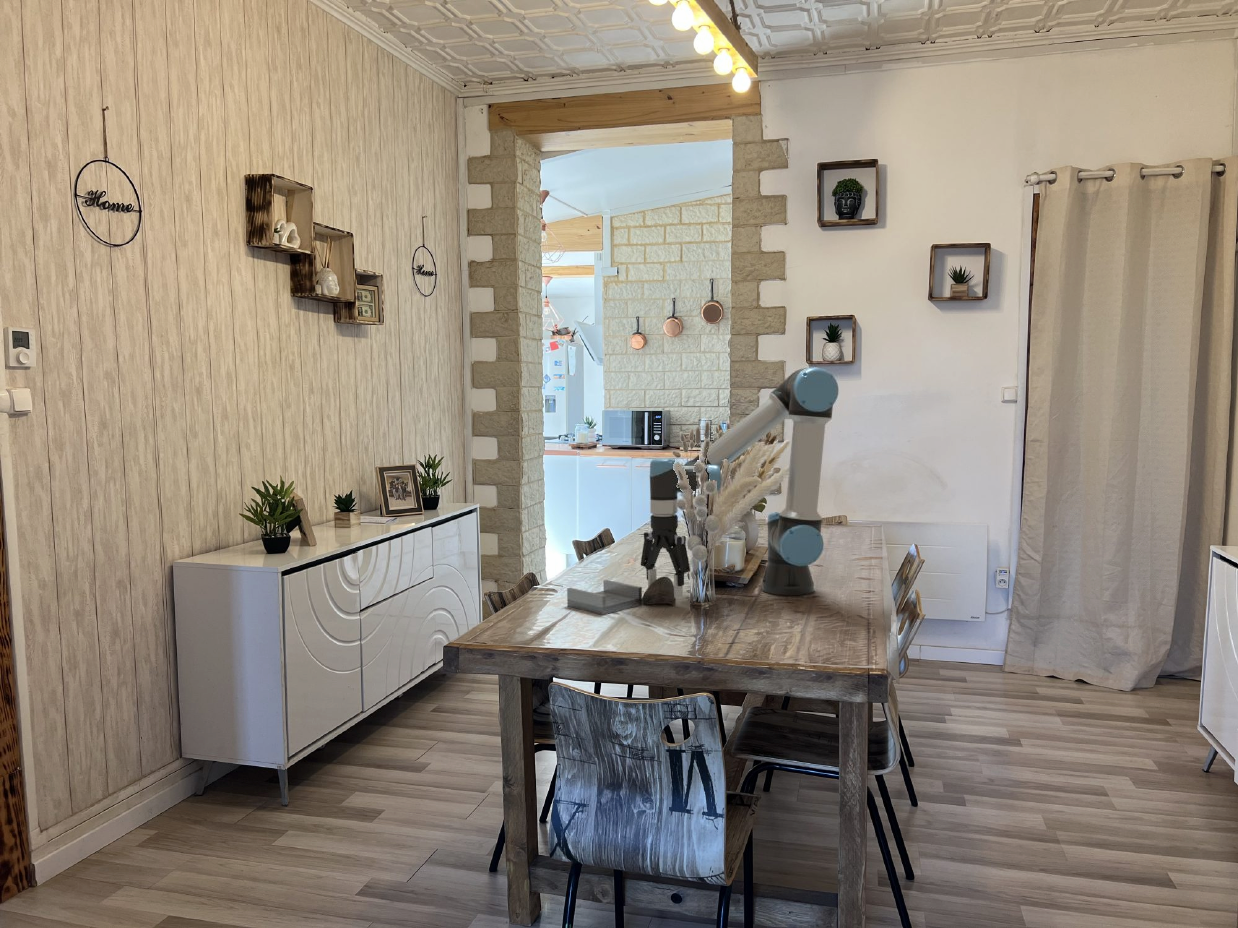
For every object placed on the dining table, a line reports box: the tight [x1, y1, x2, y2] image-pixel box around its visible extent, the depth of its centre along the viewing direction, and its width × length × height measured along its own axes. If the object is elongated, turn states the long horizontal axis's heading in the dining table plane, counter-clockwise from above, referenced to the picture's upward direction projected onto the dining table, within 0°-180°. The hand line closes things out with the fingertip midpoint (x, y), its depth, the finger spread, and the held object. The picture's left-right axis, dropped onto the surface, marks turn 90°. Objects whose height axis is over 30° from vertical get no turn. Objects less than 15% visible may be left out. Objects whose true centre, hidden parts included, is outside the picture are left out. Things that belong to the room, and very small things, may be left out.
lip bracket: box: [566, 579, 643, 616], centre depth 248 cm, size 14×15×5 cm
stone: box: [642, 576, 677, 606], centre depth 250 cm, size 10×8×10 cm
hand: (665, 594), depth 250 cm, fingers closed on stone, 9 cm apart
